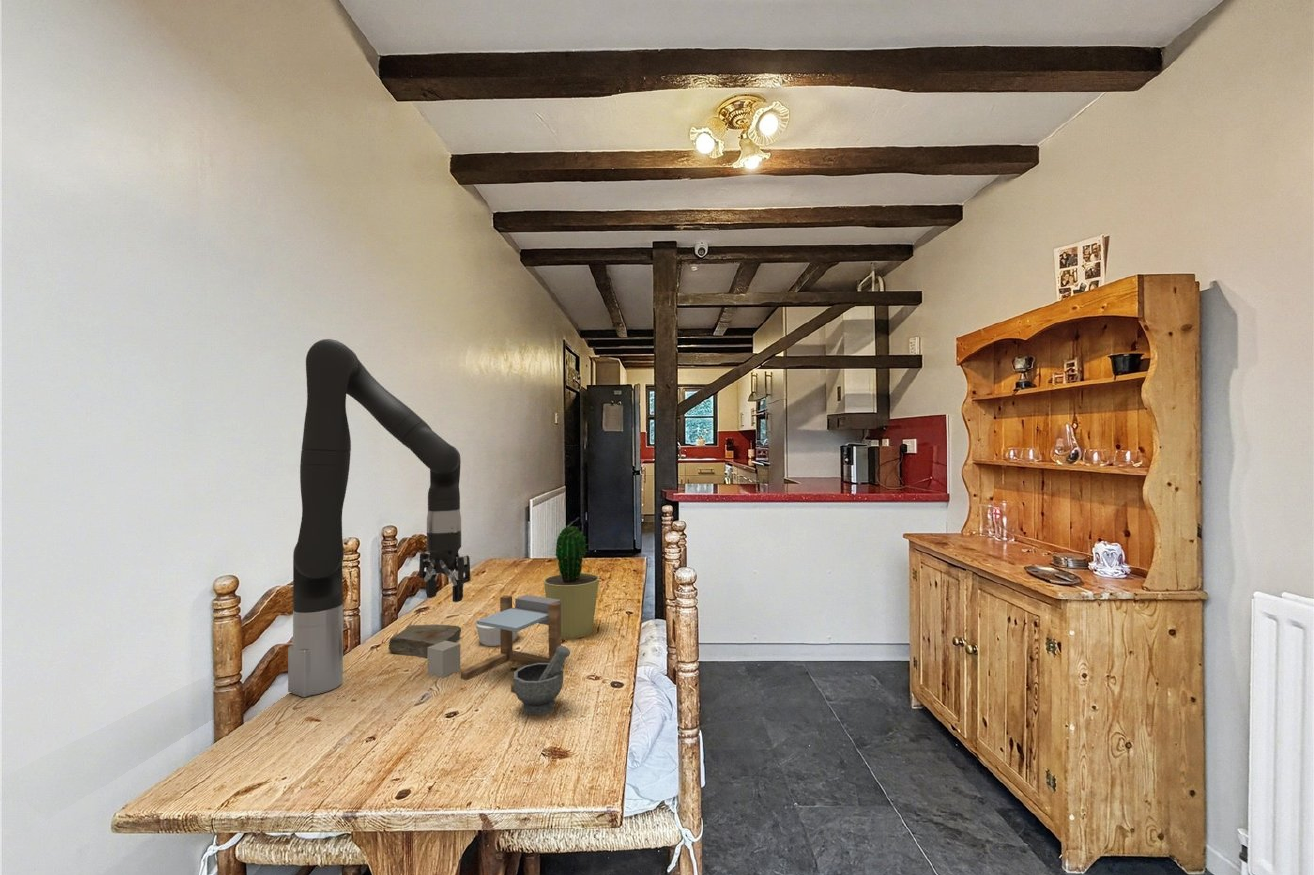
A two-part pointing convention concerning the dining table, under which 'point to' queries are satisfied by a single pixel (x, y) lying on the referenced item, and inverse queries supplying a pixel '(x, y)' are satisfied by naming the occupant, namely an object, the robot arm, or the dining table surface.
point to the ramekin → (491, 635)
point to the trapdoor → (521, 614)
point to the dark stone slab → (422, 638)
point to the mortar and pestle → (540, 683)
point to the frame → (507, 643)
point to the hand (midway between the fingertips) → (444, 599)
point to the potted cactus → (573, 585)
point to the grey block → (443, 658)
